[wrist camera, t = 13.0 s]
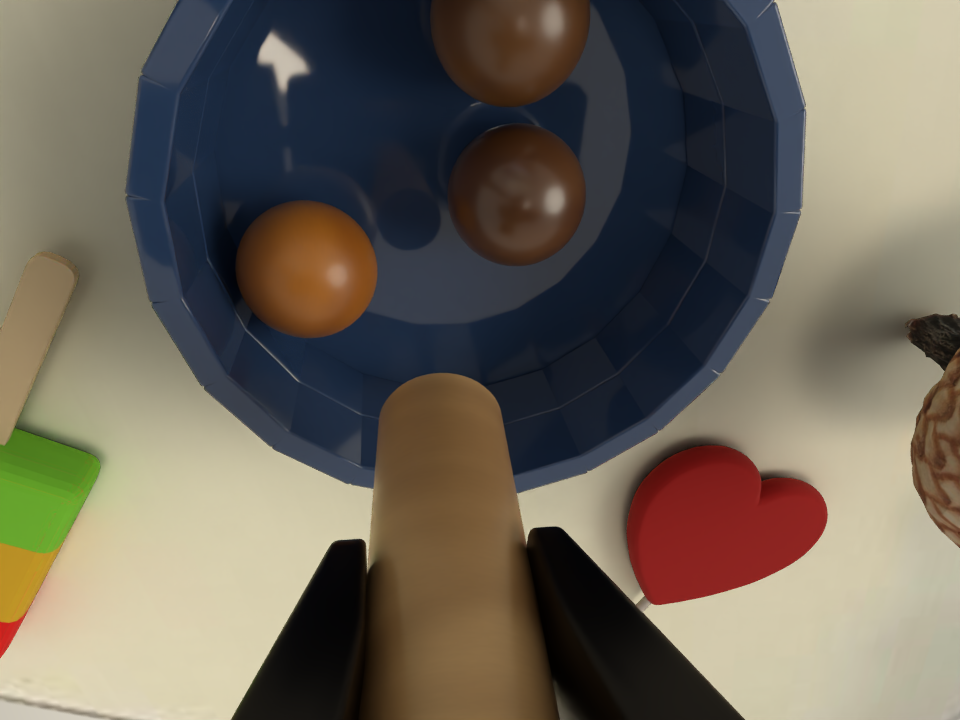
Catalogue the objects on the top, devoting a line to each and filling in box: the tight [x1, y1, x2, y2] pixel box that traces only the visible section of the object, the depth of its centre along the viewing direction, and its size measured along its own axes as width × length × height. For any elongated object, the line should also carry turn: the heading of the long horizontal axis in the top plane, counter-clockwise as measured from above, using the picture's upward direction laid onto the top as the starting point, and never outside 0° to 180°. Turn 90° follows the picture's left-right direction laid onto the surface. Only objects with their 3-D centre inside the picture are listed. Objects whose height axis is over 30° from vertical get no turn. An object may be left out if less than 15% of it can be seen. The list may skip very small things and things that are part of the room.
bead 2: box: [430, 0, 590, 107], centre depth 12 cm, size 3×3×3 cm
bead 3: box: [448, 123, 586, 266], centre depth 13 cm, size 3×3×3 cm
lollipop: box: [627, 445, 828, 612], centre depth 24 cm, size 8×1×15 cm
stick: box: [358, 373, 560, 720], centre depth 7 cm, size 2×2×9 cm
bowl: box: [125, 0, 806, 493], centre depth 13 cm, size 12×12×4 cm
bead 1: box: [235, 200, 377, 338], centre depth 13 cm, size 3×3×3 cm
